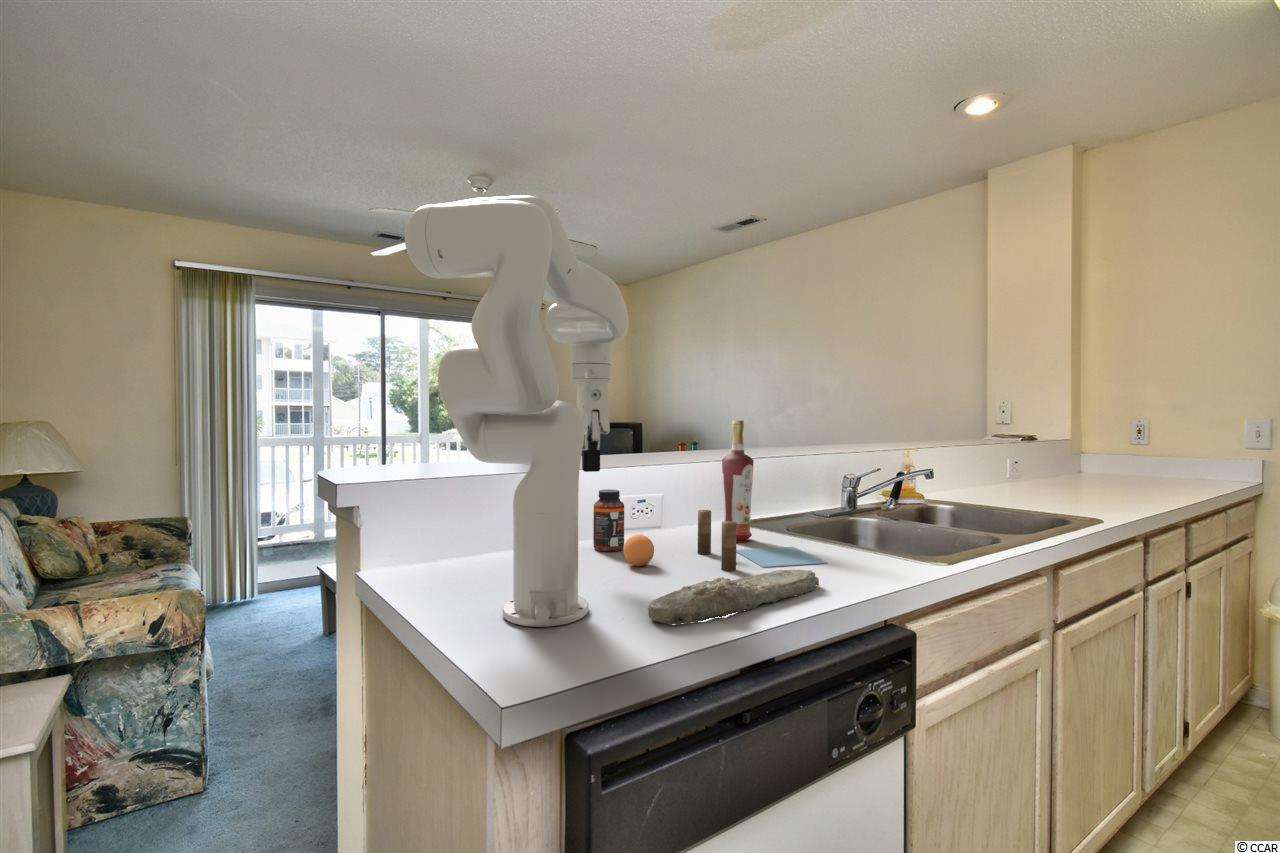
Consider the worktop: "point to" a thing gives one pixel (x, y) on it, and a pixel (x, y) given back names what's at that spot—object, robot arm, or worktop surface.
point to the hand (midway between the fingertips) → (591, 470)
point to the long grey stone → (729, 596)
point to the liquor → (738, 484)
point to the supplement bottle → (608, 522)
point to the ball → (638, 550)
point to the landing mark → (780, 557)
